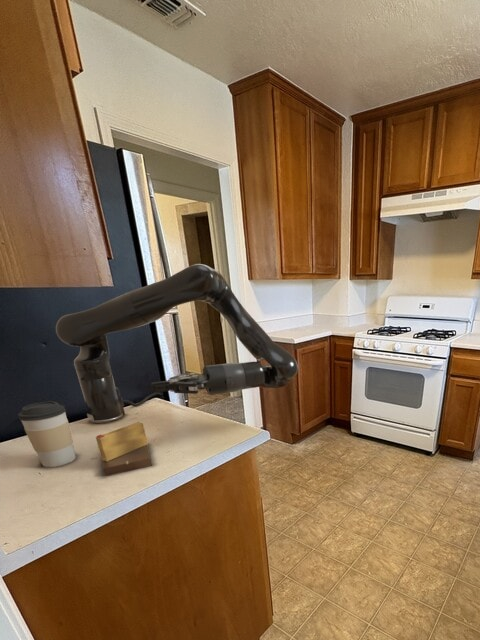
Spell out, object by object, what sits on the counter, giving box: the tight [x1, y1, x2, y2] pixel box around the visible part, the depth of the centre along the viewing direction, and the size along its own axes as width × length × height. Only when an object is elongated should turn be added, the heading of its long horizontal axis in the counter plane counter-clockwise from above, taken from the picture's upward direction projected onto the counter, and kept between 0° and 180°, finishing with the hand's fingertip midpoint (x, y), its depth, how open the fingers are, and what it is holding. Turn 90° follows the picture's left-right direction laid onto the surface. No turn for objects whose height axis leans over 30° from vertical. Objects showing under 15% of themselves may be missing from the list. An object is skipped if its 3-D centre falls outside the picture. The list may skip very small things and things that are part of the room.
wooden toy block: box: [95, 421, 148, 461], centre depth 87 cm, size 11×2×6 cm, turn 152°
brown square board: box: [90, 444, 160, 477], centre depth 89 cm, size 15×15×2 cm
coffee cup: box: [17, 401, 76, 468], centre depth 86 cm, size 9×9×15 cm
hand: (152, 387), depth 84 cm, fingers closed
